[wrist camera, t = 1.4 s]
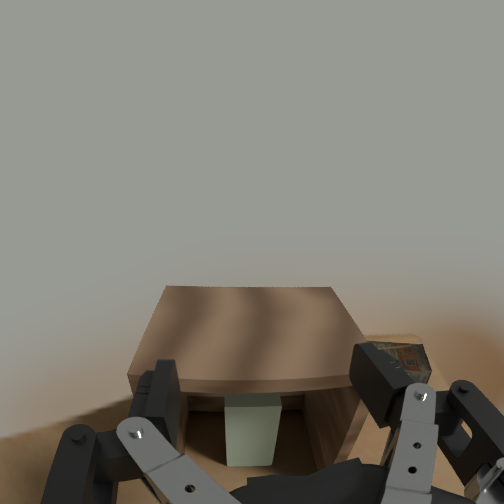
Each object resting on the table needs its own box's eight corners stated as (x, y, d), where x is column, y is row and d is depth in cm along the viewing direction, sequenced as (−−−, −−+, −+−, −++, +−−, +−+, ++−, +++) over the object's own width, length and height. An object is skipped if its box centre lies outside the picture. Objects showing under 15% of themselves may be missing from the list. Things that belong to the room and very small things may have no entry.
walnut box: (168, 491, 23) (127, 373, 17) (181, 404, 36) (166, 285, 30) (332, 486, 24) (385, 369, 18) (308, 403, 37) (330, 286, 32)
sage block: (227, 466, 27) (224, 406, 24) (226, 434, 32) (225, 371, 28) (271, 465, 27) (281, 405, 24) (267, 433, 32) (275, 370, 29)
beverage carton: (305, 360, 47) (310, 327, 45) (413, 372, 42) (426, 340, 40) (297, 392, 40) (304, 357, 38) (420, 404, 35) (436, 371, 33)
